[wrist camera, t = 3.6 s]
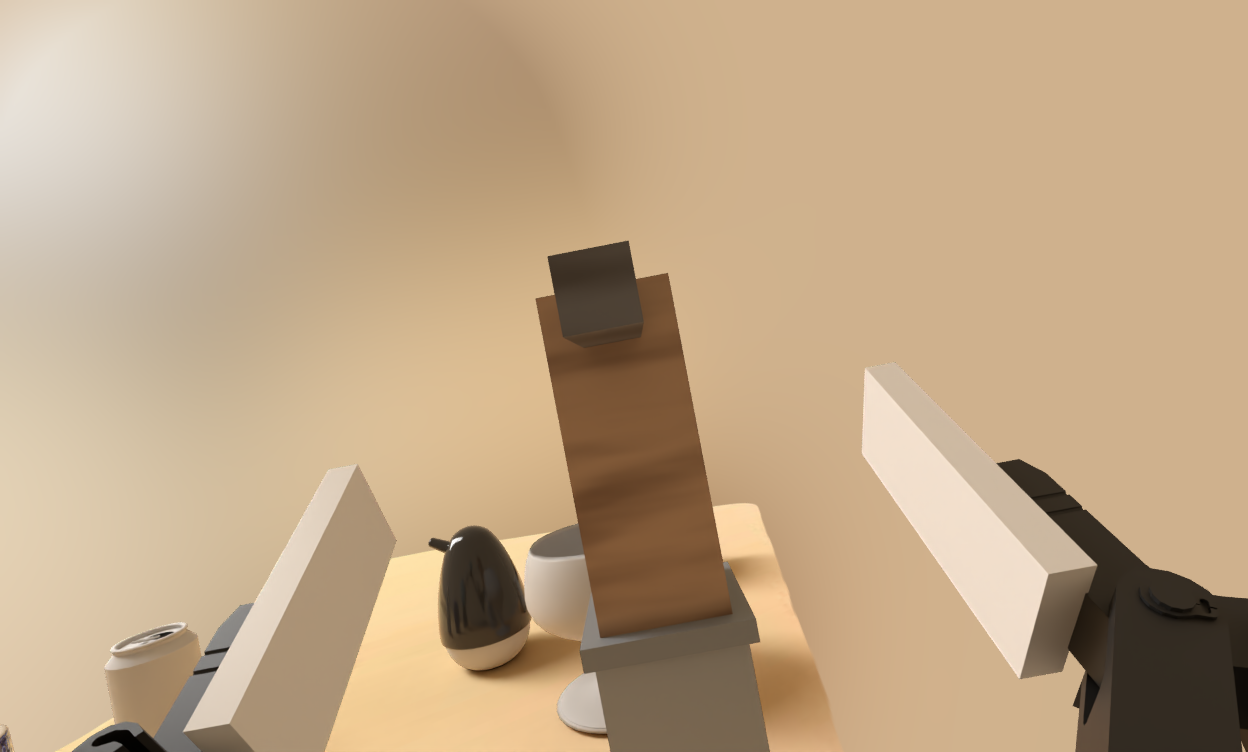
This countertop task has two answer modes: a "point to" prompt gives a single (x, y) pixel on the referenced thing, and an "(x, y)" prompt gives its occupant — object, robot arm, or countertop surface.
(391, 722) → the countertop surface
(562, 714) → the chalice
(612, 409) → the walnut handle block
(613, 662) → the stand
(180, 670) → the can
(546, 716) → the countertop surface
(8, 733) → the planter
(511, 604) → the pump dispenser
